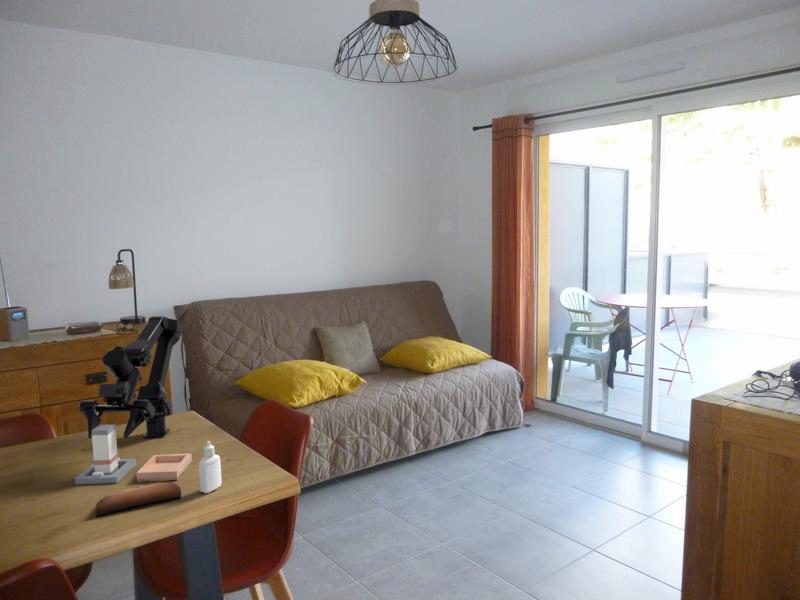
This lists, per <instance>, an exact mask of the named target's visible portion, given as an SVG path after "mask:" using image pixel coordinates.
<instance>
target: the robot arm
mask: <svg viewBox="0 0 800 600" xmlns="http://www.w3.org/2000/svg"><path fill="white" fill-rule="evenodd" d="M183 332H184V324H183V322H181V320H180V319H178V318H177V319H176V318H175V319H174V318H168V317H166V316H160V315H159V316H155V315H154V316H151V317H148V320H147V323H146V325H145V327H144V328H143V329H142V330H141V332H140V334H139V335H138V336H137V338H136V339H135V340H134V341H132V342H129V343H128V344H126V345H125V346H124V347H123V346H122V345H120V346H119V345H117V346H114V347H113V349H112V350H109V351H108V352H106V354H104V355H103V357H102V363H103V365H104V366H105V368H106V369H107V370H108V371H109V373H110V374H111V375H112V376H113V377H115V381H114V383H102V384H101V383H100V384H99V389H98V394H97V397H98V398H103V399H102V401H103V402H104V403H106V404H100V403H99V402H98V400H96V399H88V400H87V399H86V400H85V399H84V400H82V401H80V402H79V404H78V407H77V410H78V411H79V412H80V413H81V414H82V415H83V416H84V418H85V419H86V420H87V430H88V431H87V432H88V434H87V436H88V438H89V439H90V440H92V430H93V429H95V428H96V427H97V426H99V425H101V421H102V419H101V417H102V416H103V414H104V413H129V418H128V421H127V423H126V427H125V429H124V433H123V438H124V439H127V438H128V437H129V436H130V435H131V434H132V433H133V432H134V431H135V430H136V429H137V428H138V427H139V426H141V425H142V423H144V422H145V433H144V434H143V435H142V436H141V438H143V439H144V438H145V439H151V438H152V439H153V438H164V437H165V436H166V435H167V434H168V433H169V432H170V431H171V428H167V423H166V422H167V421H166V417H169V416H171V415H172V412H173V411H172V410H173V409H172V408H173V405H172V404H171V403H170V402H169V400H168V394H167V392H166V390H165V384H166V383H165V382H166V378H167V375H168V374H167V373H168V370H169V364H170V361H171V356H172V352H173V347H174V346H175V345H176V344H177V343H178V342H179V341H180V339H181V336H182V334H183ZM155 343H156V347H155V351H154V355H153V359H152V353H151V350H152V348H153V346H155ZM151 359H152V364H151V368H150V372H149V377H148V381H147V383H145V385H141V386H140V387H139V389H138V394H137V393H136V389H137V386H138V384H139V381H142V380H143V376H142V373H141V371H140V370H139V369H138V368H146V367H147V366H148V365H149V363H150V362H151ZM133 399H135V400H133Z"/></svg>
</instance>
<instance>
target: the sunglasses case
mask: <svg viewBox="0 0 800 600" xmlns="http://www.w3.org/2000/svg"><path fill="white" fill-rule="evenodd" d="M180 497H181V498H182V490H181V488H180V485H178V483H174V482H154V483H150V484H146V485H142V486H135V487H133V488H126V489H120V490H117V491H115V492H112V493H110V494H108V495H105V496H104V497H102V498H100V499H99V500H98V501H97V503H96V506H95V517H96V516H97V517H98V516H103V515H107V514H110V513H111V514H112V513H113V512H117V511H119V510H121V511H122V510H125V509H126V508H133V507H136V506H137V507H138V506H142V505H147V504H150V503H157V502H161V501H167V500H171V499H175V498H176V499H177V498H178V499H179V498H180Z"/></svg>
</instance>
